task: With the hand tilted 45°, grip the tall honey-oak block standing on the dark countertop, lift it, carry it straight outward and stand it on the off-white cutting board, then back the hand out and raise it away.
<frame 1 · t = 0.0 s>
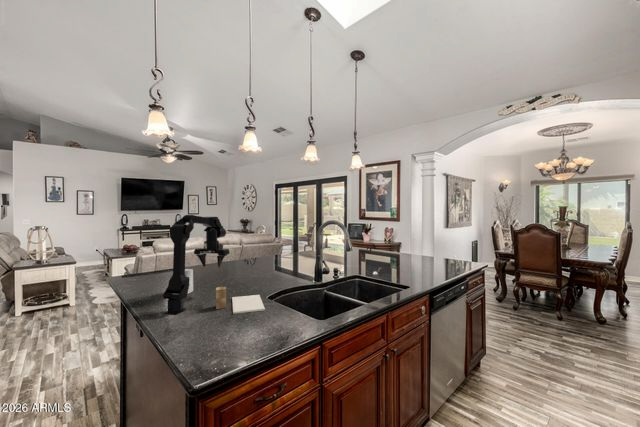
hand: (211, 267, 154), 15 cm above the worktop, tool pointing down, fingers open, 9 cm apart
cutting board: (247, 304, 137), on the worktop
supplement box: (183, 293, 155), on the worktop
oak block: (221, 307, 133), on the worktop
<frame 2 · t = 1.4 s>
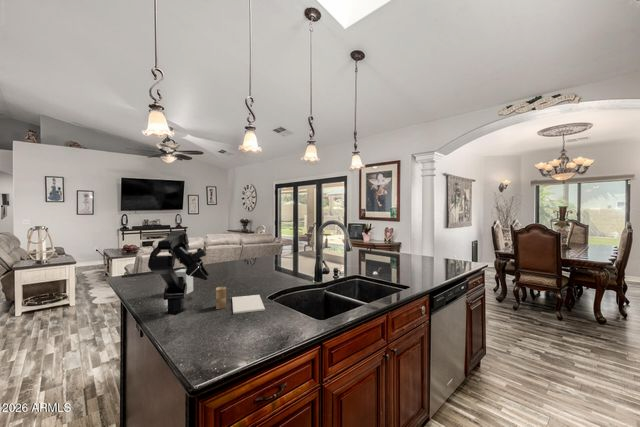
hand: (207, 277, 135), 14 cm above the worktop, tool tilted 45°, fingers open, 9 cm apart
nothing on the worktop moved.
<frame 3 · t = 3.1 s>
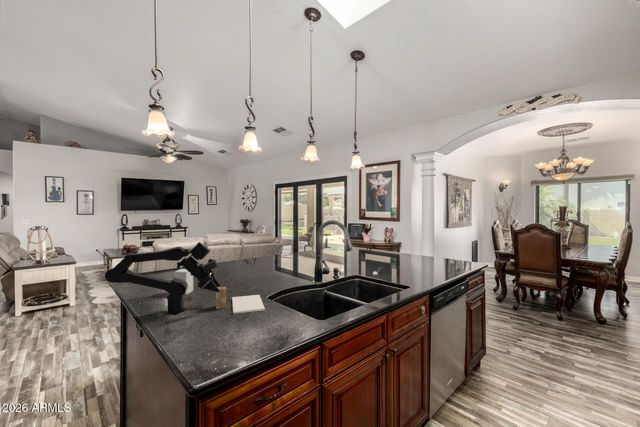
hand: (219, 288, 132), 9 cm above the worktop, tool tilted 45°, fingers open, 9 cm apart
nothing on the worktop moved.
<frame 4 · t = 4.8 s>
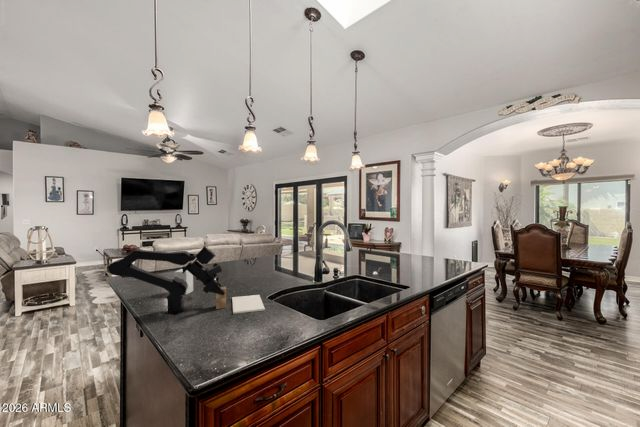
hand: (224, 292, 133), 7 cm above the worktop, tool tilted 45°, fingers closed on oak block, 4 cm apart
oak block: (221, 306, 133), on the worktop, touching gripper
everything else where it was.
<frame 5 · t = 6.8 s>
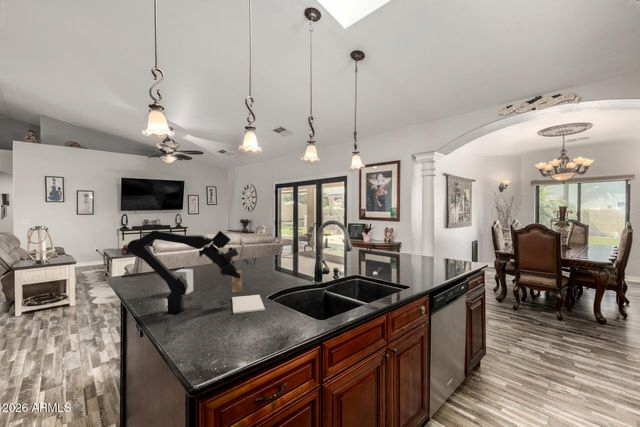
hand: (239, 276, 135), 14 cm above the worktop, tool tilted 45°, fingers closed on oak block, 4 cm apart
oak block: (237, 290, 135), point 7 cm above the worktop, touching gripper
everything else where it was.
when the fingers open (9 cm above the worktop, at t = 9.1 s): oak block drops 1 cm, resting on cutting board.
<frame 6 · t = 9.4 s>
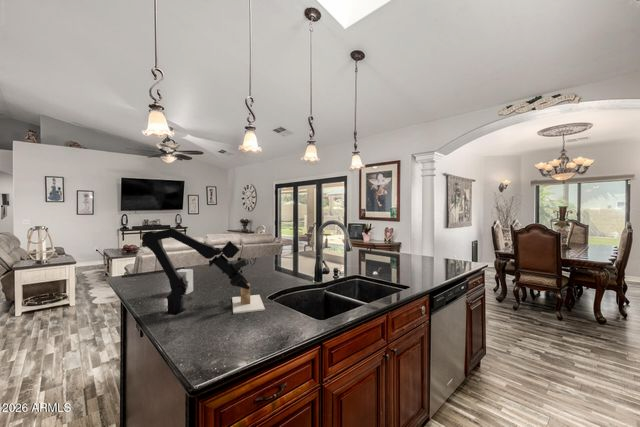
hand: (248, 286, 137), 9 cm above the worktop, tool tilted 45°, fingers open, 8 cm apart
oak block: (245, 302, 136), point 1 cm above the worktop, touching cutting board
everything else where it was.
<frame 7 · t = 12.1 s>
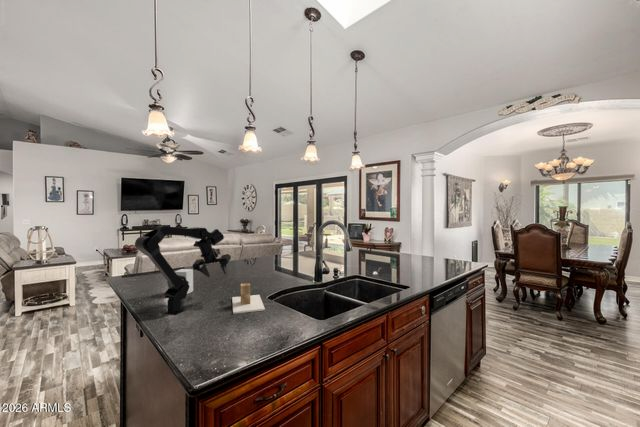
hand: (217, 275, 146), 12 cm above the worktop, tool tilted 25°, fingers open, 9 cm apart
nothing on the worktop moved.
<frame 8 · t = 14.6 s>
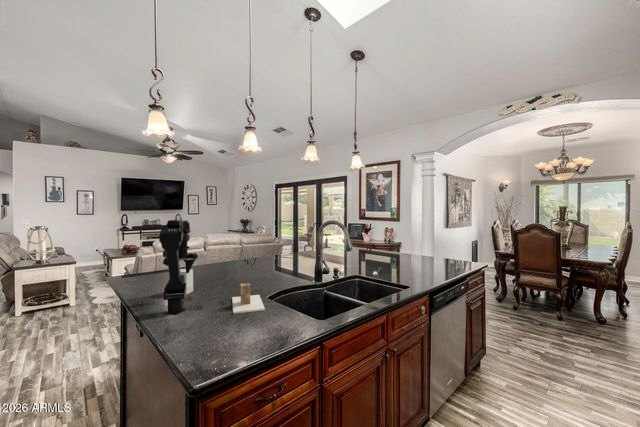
hand: (181, 275, 142), 13 cm above the worktop, tool pointing down, fingers open, 9 cm apart
nothing on the worktop moved.
at the end: oak block inside the target area on the cutting board (1.0 cm from its centre), point 0.8 cm above the cutting board's base; oak block tilted 0°; the gripper is holding nothing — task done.
